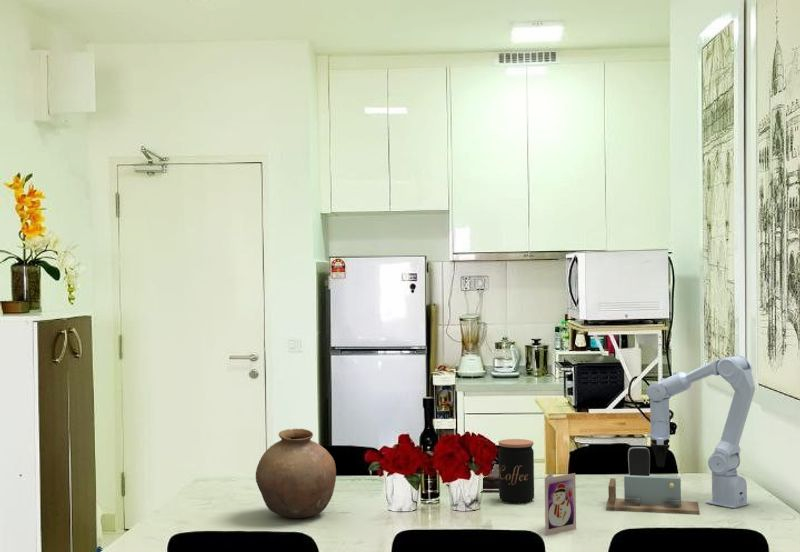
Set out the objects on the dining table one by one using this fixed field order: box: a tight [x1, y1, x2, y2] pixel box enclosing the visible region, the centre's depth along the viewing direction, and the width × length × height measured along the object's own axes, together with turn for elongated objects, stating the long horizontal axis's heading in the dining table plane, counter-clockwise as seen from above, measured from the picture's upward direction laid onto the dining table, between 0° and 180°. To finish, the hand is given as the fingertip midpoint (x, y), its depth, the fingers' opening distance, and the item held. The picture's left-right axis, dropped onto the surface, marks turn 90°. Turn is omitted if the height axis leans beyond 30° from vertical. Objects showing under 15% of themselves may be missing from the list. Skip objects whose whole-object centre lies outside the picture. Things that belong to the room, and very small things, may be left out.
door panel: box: [623, 474, 682, 506], centre depth 289 cm, size 16×4×8 cm, turn 75°
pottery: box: [255, 428, 337, 519], centre depth 284 cm, size 23×23×25 cm
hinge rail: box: [605, 477, 700, 515], centre depth 289 cm, size 26×12×7 cm, turn 75°
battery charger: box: [627, 446, 651, 476], centre depth 328 cm, size 7×4×11 cm, turn 85°
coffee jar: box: [498, 438, 535, 505], centre depth 301 cm, size 11×11×18 cm
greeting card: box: [544, 470, 577, 536], centre depth 265 cm, size 11×7×15 cm, turn 126°
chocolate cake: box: [482, 463, 499, 493], centre depth 327 cm, size 28×28×7 cm
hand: (660, 464), depth 306 cm, fingers open, 7 cm apart
